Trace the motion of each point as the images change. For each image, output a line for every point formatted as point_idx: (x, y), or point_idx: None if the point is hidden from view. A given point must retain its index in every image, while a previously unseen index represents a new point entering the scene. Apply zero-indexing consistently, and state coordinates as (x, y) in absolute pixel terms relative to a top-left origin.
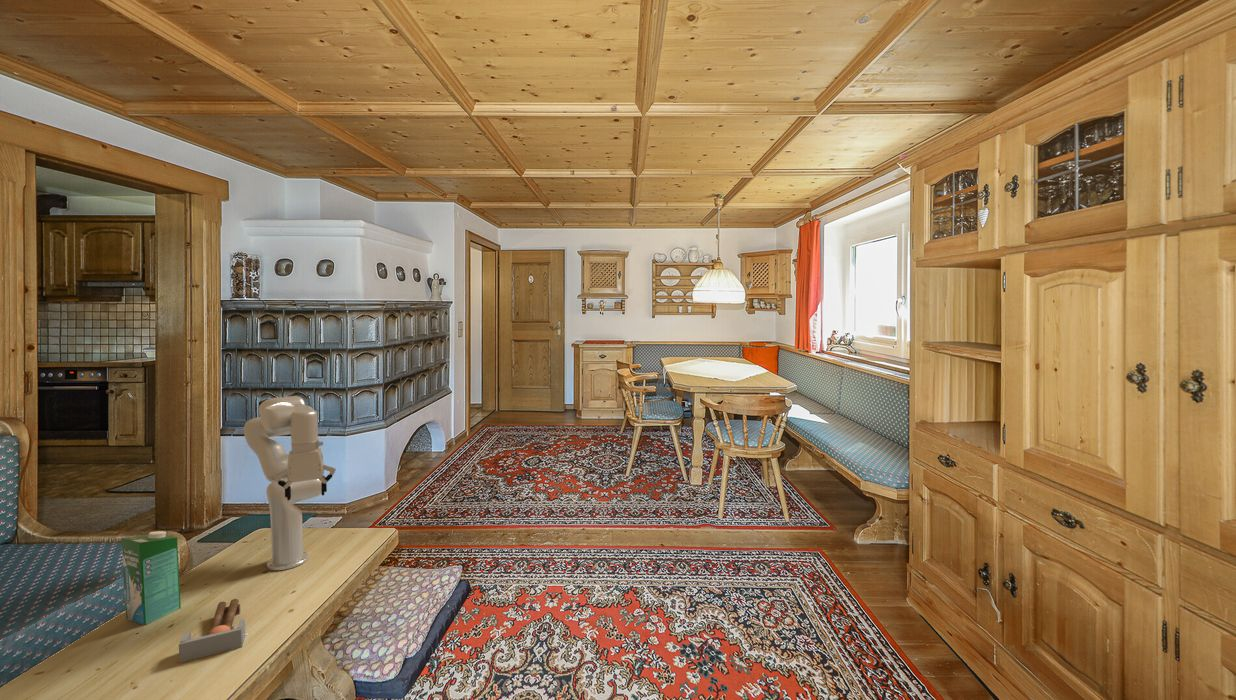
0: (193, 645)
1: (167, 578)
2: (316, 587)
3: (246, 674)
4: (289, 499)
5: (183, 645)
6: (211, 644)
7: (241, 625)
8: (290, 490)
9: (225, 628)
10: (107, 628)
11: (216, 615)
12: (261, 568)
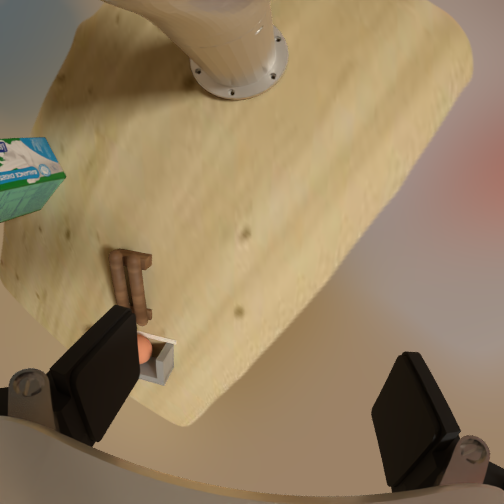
0: None
1: (9, 200)
2: (293, 245)
3: (190, 417)
4: (135, 377)
5: None
6: None
7: (162, 375)
8: (101, 376)
9: (141, 360)
10: None
11: (116, 291)
12: (181, 61)
